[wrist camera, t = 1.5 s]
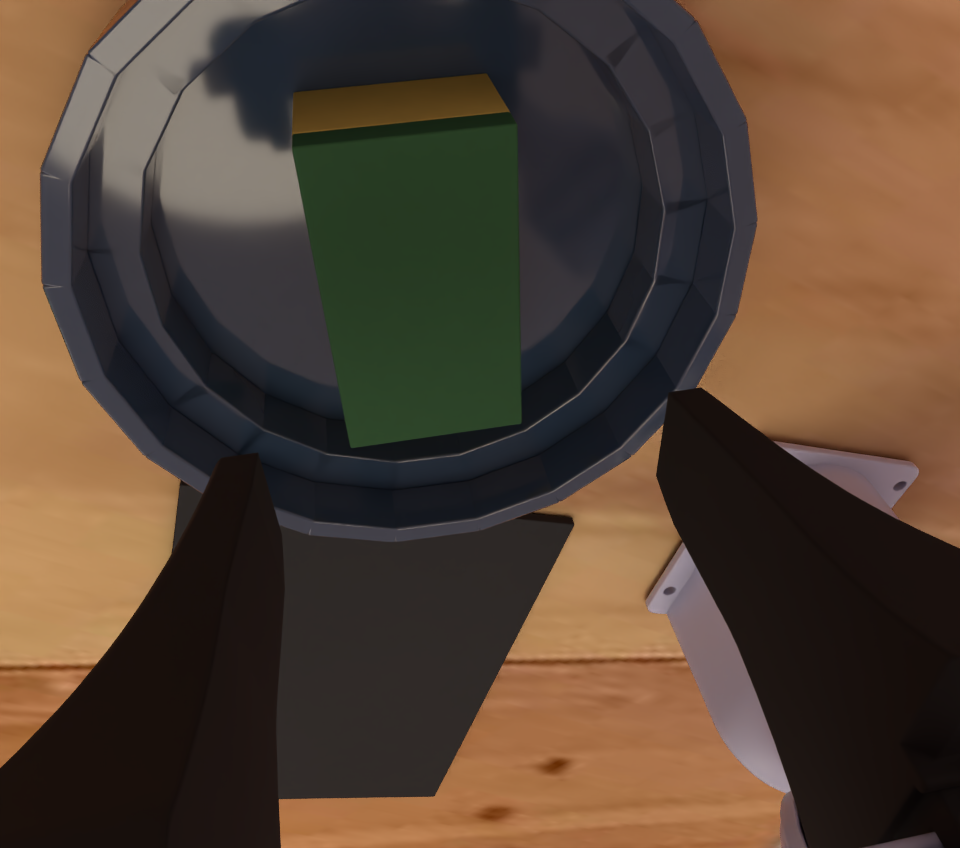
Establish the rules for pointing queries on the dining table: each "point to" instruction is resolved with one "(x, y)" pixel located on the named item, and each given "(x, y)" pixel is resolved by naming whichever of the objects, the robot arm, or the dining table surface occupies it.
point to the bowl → (290, 266)
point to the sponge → (415, 252)
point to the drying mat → (394, 649)
